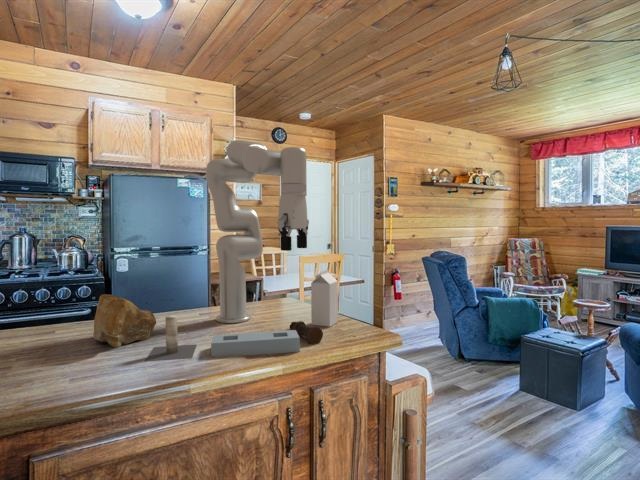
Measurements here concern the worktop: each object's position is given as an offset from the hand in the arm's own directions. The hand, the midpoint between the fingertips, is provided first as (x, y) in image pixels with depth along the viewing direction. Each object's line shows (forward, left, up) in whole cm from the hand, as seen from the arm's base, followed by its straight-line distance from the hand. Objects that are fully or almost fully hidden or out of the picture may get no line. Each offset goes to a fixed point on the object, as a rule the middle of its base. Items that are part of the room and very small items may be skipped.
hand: (294, 249), depth 118 cm
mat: (+1, -35, -28) cm, 45 cm away
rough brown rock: (-15, -51, -29) cm, 60 cm away
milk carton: (-21, +13, -29) cm, 38 cm away
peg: (+1, -35, -28) cm, 45 cm away
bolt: (-6, +4, -29) cm, 30 cm away
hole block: (+3, -12, -28) cm, 31 cm away
